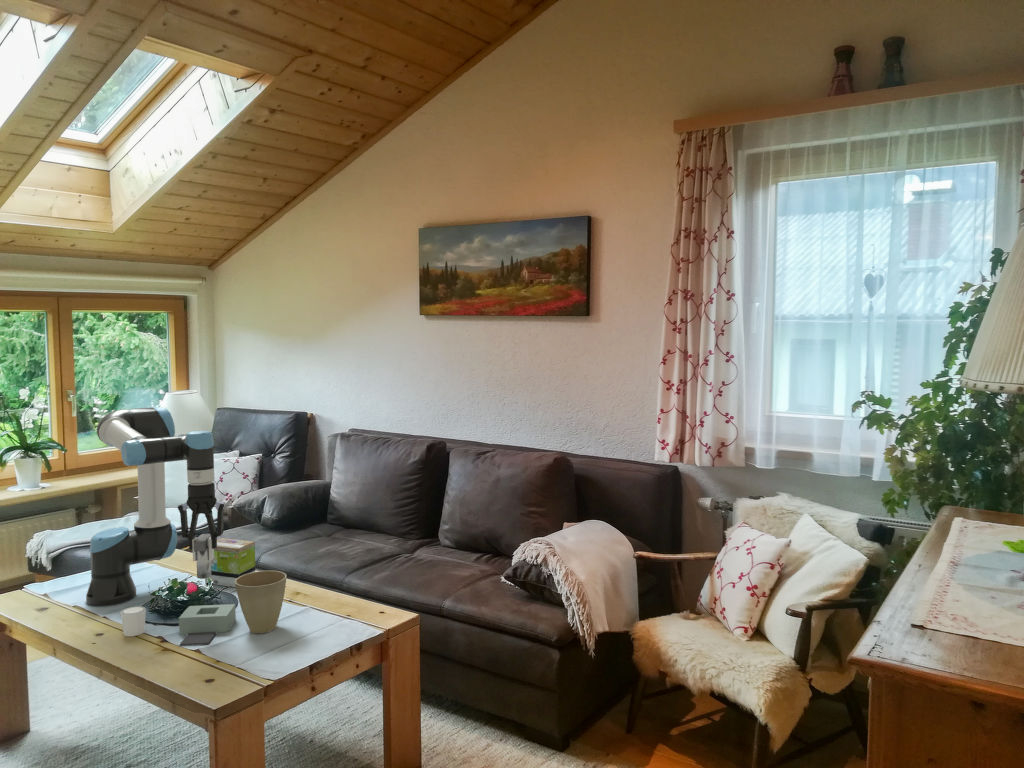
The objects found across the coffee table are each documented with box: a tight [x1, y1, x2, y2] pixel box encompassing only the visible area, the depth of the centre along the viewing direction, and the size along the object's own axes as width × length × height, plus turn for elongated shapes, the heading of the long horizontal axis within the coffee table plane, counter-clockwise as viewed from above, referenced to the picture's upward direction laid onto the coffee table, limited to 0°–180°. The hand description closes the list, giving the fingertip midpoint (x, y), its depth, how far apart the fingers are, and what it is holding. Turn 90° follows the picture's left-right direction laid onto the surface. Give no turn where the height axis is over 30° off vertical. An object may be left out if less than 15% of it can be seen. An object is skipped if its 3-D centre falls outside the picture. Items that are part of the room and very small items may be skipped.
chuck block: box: [178, 603, 237, 635], centre depth 230 cm, size 14×10×5 cm
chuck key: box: [193, 533, 211, 580], centre depth 226 cm, size 9×4×12 cm, turn 8°
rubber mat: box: [179, 632, 217, 647], centre depth 221 cm, size 8×8×1 cm
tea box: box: [204, 537, 256, 588], centre depth 272 cm, size 15×10×15 cm
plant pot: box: [235, 570, 287, 634], centre depth 228 cm, size 15×15×16 cm
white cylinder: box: [120, 605, 147, 637], centre depth 226 cm, size 7×7×7 cm
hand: (203, 559), depth 226 cm, fingers closed on chuck key, 4 cm apart
